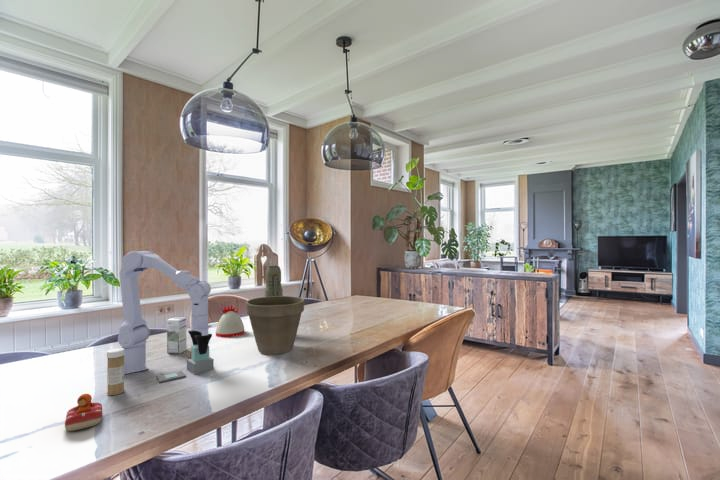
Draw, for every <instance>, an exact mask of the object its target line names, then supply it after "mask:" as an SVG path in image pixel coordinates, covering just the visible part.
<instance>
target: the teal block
mask: <svg viewBox="0 0 720 480" xmlns="http://www.w3.org/2000/svg"><path fill="white" fill-rule="evenodd" d="M190 348H191V359H192V360H193V361H194V362H199V361H204V360H209V357H210V345H209V344H208V347H207V352H206V354H201V355H200V354H199V350H198V344H197V345H193V344H192V345H191V346H190Z"/></svg>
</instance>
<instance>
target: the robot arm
mask: <svg viewBox="0 0 720 480" xmlns="http://www.w3.org/2000/svg"><path fill="white" fill-rule="evenodd" d="M121 263H122V265H121V267H120V271H119V281H120V292H121V302H122V310H123V322H122V324H121V325H119V329H118V330H119V332H118V336H117V341H118V344H119V345H120V346H121V347H120V348H123V349H124V351H125V354H124V375H126V374H133V373H137V372H141V371H142V372H143V371H147V370H149V367H148V364H146V363H147V358H146V357H147V354H146V353H147V352H146V350H147V349H146V347H147V346H146V345H147V344H146V343H147V340H148V339H149V337H150V335H151V332H150V329H149V327H148V325H147V321H146V319H144V318H143V317H142V309H141V308H142V307H141V297H140V289H139V278H138V277H139V276H140V275H141V274H142V273H143V272H144V271H145V270H147V269H149V268H150V269H155V270H157V271H158V272H160V273H162V274H164V275H165V276H168V277H170V279H171V280H172V283H173V284H175V285H176V286H177V287H179V288H181V289H182V290H183V291H186V293H187V294H188V297H189V298H190V302H191V305H190V306H191V308H190V309H191V310H190V312H191V313H190V316H191V317H190V322H191V323H190V324H191V325H190V330H187V331H188V334H189V335H190V338H191V342H192V345H197V344H198V350H199V354H200V355H201V354H206V352H207V347H208V345H209V343H210V341H211V338H212V336H213V334H212V333H209V328H212V327H213V326H212V324H209V294H210V293H211V291H212V288H211V285H210V284H209V282H208V281H206V280H201V279H200V278H199V277H195V276H194V275H192V274H190V271H188V270H184V269H182V270H178V269H176V268H175V267H174V266H173V265H171V264H169V263H168V262H167V261H165V260H164V259H163V258H161V257H160V256H159V255H158V254H157V253H154V252H153V251H150V250H142V251H134V250H133V251H129V252H127V253H126V254H125V255H124V256H123V257H122V258H121Z"/></svg>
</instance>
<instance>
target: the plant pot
mask: <svg viewBox="0 0 720 480" xmlns="http://www.w3.org/2000/svg"><path fill="white" fill-rule="evenodd" d="M245 311H246V313H245V314H247V315H248V317H249V321H250V322H249V323H250V325H251V329H252V333H253V337H254V340H255V343H256V347H257V350H258V352H259V353H261V354H263V355H271V356H275V355H281V354H286V353H288V352H291V351H292V350H293V348H294V346H295V342H296V337H297V334H298V330H299V325H300V321H301V318H302V313H303V312H304V311H305V299H304V298H303V297H297V296H288V295H287V296H286V295H283V296H271V297H265V296H263V297H256V298H251V299H248V300H247V301H246V302H245Z"/></svg>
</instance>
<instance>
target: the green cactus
mask: <svg viewBox="0 0 720 480" xmlns="http://www.w3.org/2000/svg"><path fill="white" fill-rule="evenodd" d="M265 283H266V284H265V289H264V297H271V296H284V294H283V287H282V271H281V268H280V266H278V265H269V266H267V267H266V270H265Z"/></svg>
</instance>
